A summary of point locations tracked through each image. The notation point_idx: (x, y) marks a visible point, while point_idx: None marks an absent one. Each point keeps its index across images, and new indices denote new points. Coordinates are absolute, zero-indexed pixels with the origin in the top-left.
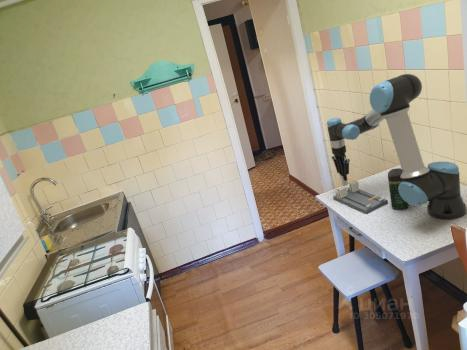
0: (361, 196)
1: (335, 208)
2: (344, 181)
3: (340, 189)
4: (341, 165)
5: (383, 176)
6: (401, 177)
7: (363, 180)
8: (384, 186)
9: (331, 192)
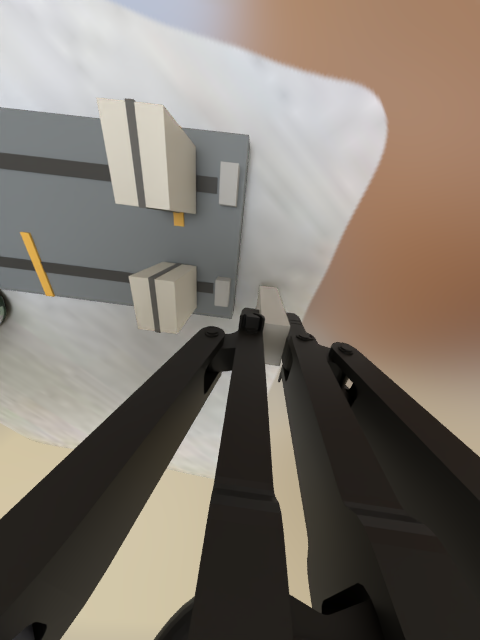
0: (97, 251)
1: (116, 9)
2: (258, 306)
3: (102, 107)
4: (232, 460)
5: None
6: None
7: None
8: None
9: (336, 227)
